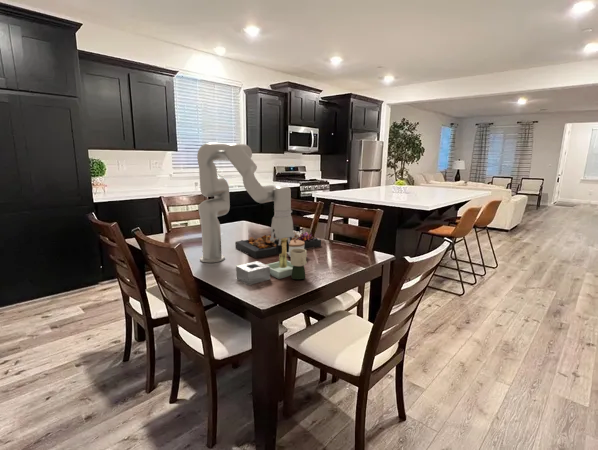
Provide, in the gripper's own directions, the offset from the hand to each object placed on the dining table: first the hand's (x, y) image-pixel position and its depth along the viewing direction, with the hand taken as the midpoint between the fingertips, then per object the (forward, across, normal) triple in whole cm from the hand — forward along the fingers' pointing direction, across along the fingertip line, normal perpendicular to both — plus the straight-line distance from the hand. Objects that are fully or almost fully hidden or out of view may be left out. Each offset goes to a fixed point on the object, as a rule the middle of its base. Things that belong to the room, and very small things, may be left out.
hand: (282, 252), depth 161 cm
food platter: (+11, -25, -37) cm, 46 cm away
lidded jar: (+10, -21, -17) cm, 29 cm away
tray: (+10, 0, 0) cm, 10 cm away
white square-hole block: (+10, +16, -1) cm, 19 cm away
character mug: (+10, 0, +11) cm, 15 cm away
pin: (+7, 0, 0) cm, 7 cm away
